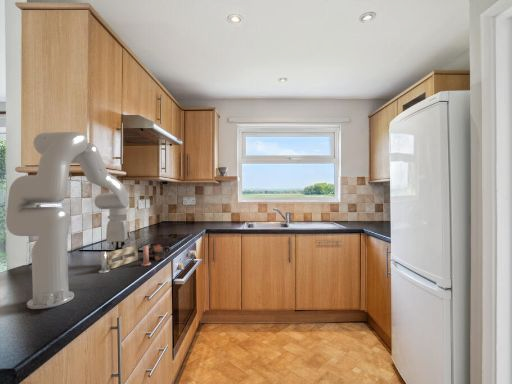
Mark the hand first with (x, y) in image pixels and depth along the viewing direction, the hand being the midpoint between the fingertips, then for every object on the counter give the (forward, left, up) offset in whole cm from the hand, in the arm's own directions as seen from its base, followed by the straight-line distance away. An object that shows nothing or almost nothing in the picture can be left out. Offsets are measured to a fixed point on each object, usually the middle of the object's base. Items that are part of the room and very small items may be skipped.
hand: (119, 254), depth 135 cm
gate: (-3, -1, -4) cm, 5 cm away
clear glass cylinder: (-8, +9, -5) cm, 13 cm away
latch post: (-10, -9, -5) cm, 15 cm away
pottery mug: (-3, -19, -5) cm, 20 cm away
